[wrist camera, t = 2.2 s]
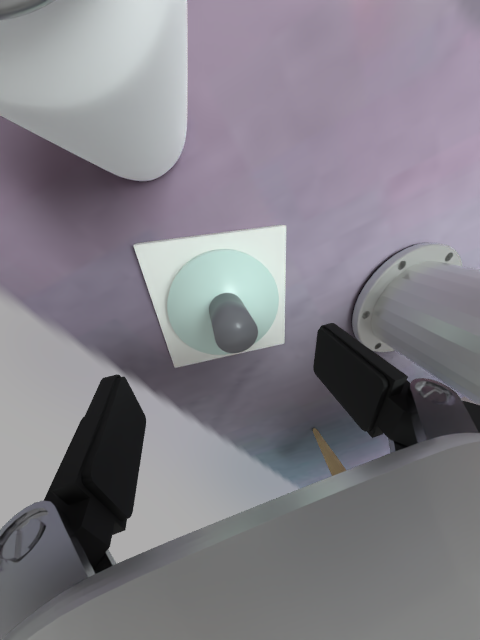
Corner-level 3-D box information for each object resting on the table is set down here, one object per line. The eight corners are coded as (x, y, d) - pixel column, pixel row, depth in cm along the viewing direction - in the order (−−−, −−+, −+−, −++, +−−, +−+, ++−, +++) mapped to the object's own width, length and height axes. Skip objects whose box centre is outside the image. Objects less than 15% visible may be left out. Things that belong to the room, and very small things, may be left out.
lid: (273, 240, 16) (306, 251, 11) (275, 337, 20) (299, 371, 16) (153, 258, 14) (138, 278, 10) (183, 357, 19) (182, 401, 14)
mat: (280, 224, 16) (286, 225, 15) (280, 338, 21) (284, 343, 21) (136, 243, 14) (133, 245, 14) (175, 361, 20) (174, 368, 19)
